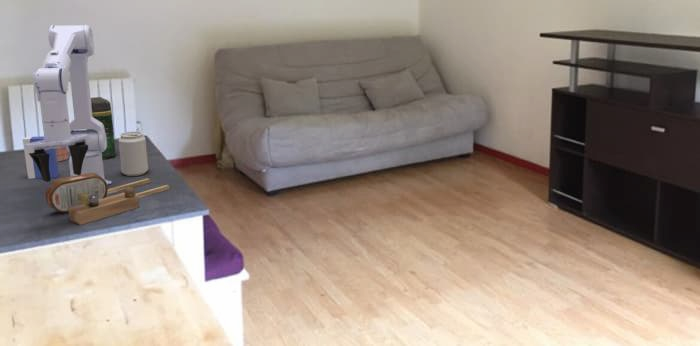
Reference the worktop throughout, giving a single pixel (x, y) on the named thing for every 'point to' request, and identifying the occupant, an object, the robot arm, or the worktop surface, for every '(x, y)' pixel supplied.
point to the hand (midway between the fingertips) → (62, 177)
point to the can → (133, 153)
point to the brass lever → (88, 199)
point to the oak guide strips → (138, 185)
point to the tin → (74, 190)
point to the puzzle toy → (62, 154)
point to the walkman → (31, 165)
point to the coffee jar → (104, 123)
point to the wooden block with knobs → (105, 207)
